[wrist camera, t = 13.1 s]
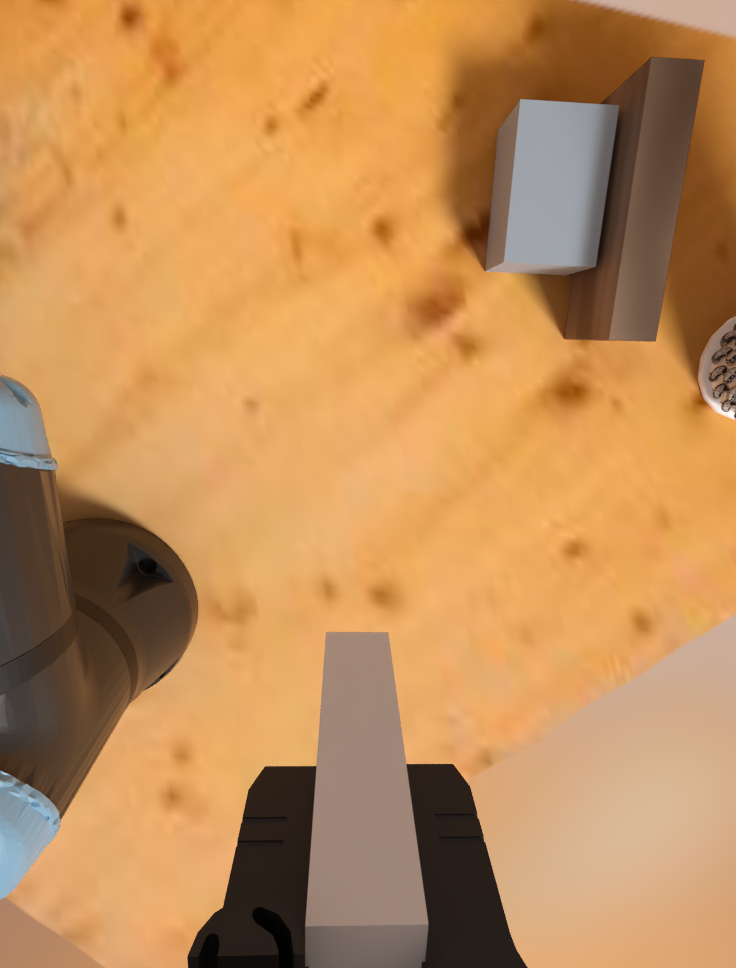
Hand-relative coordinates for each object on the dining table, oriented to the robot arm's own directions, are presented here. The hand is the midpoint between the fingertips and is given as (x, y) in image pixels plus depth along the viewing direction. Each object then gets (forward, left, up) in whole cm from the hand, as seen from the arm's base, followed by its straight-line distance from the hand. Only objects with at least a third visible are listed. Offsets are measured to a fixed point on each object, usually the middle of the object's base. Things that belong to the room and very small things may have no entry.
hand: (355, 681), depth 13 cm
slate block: (+12, +18, -30) cm, 37 cm away
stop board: (+18, +16, -29) cm, 38 cm away
